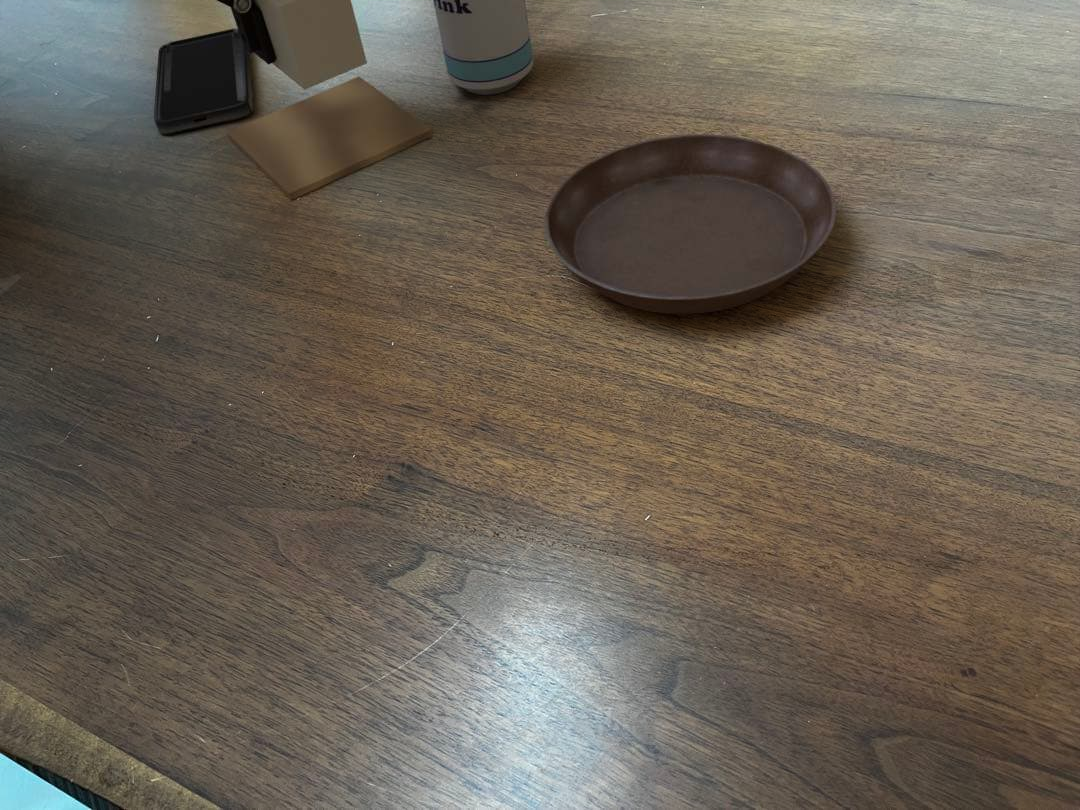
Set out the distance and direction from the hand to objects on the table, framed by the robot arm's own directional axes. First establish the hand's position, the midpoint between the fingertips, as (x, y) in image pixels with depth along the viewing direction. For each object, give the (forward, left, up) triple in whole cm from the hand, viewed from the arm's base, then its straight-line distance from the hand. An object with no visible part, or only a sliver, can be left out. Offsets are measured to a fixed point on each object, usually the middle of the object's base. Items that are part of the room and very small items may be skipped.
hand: (301, 39), depth 79 cm
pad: (0, 0, -8) cm, 8 cm away
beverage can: (+14, -2, -8) cm, 16 cm away
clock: (0, 0, -1) cm, 1 cm away
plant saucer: (+11, -30, -8) cm, 33 cm away
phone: (-4, +16, -8) cm, 18 cm away
